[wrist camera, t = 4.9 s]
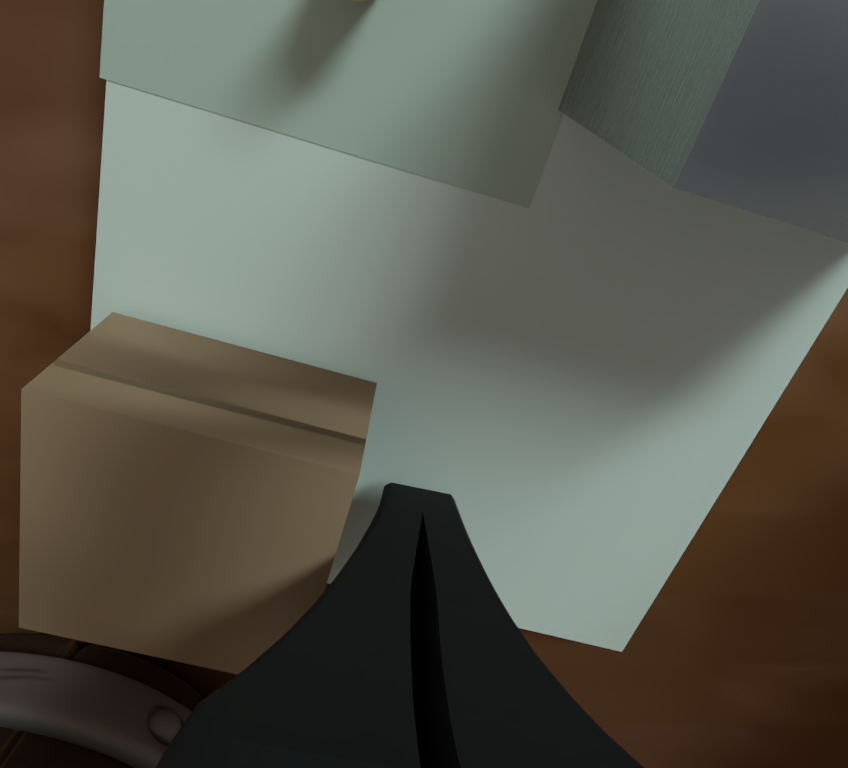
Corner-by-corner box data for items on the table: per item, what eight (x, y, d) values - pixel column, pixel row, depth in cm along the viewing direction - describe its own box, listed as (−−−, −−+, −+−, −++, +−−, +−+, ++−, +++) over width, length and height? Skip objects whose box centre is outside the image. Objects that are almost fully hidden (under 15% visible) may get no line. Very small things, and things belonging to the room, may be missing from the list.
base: (1088, -202, 10) (1355, -297, 7) (610, 613, 17) (643, 727, 15) (182, -579, 8) (47, -897, 5) (97, 491, 16) (23, 590, 13)
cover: (376, 382, 13) (359, 474, 10) (321, 571, 15) (295, 687, 12) (112, 311, 12) (21, 389, 10) (95, 518, 15) (19, 627, 12)
